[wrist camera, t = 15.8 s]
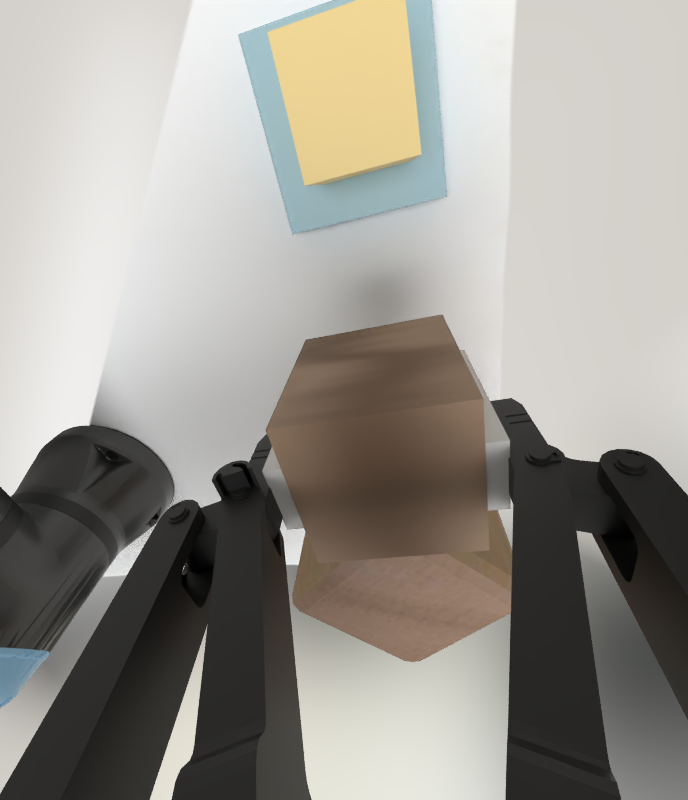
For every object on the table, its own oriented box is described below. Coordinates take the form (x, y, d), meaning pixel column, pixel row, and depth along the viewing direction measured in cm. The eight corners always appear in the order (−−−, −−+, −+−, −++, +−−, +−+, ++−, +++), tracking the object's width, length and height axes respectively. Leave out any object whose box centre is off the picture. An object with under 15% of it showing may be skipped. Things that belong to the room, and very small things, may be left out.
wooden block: (399, 467, 41) (414, 672, 24) (325, 420, 39) (281, 611, 21) (465, 407, 36) (540, 607, 19) (385, 350, 34) (391, 520, 17)
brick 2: (336, 445, 19) (317, 563, 13) (305, 340, 17) (265, 430, 11) (452, 430, 18) (489, 550, 12) (442, 314, 16) (483, 398, 10)
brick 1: (322, 184, 25) (304, 185, 19) (297, 72, 22) (267, 31, 16) (411, 161, 24) (421, 154, 18) (397, 39, 21) (403, -17, 15)
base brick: (300, 230, 29) (292, 234, 27) (253, 50, 24) (238, 34, 22) (440, 195, 27) (447, 196, 25) (422, -10, 22) (428, -35, 20)
